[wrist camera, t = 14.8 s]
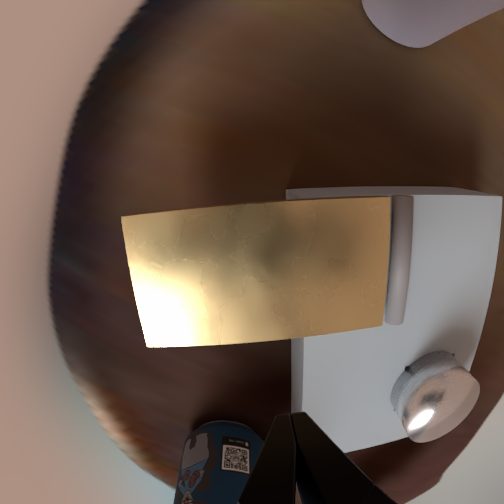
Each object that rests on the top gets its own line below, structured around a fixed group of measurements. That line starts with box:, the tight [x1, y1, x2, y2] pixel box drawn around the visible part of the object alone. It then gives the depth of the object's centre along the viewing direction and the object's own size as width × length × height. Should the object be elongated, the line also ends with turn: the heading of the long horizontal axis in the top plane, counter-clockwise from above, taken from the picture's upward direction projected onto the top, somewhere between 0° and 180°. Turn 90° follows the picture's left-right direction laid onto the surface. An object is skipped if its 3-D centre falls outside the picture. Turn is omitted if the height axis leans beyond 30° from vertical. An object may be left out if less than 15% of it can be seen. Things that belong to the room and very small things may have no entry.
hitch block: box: [286, 186, 502, 453], centre depth 17 cm, size 17×12×6 cm
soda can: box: [174, 420, 264, 504], centre depth 17 cm, size 7×7×12 cm
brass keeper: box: [121, 196, 390, 347], centre depth 13 cm, size 6×11×1 cm, turn 94°
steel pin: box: [390, 351, 480, 443], centre depth 16 cm, size 5×5×8 cm
